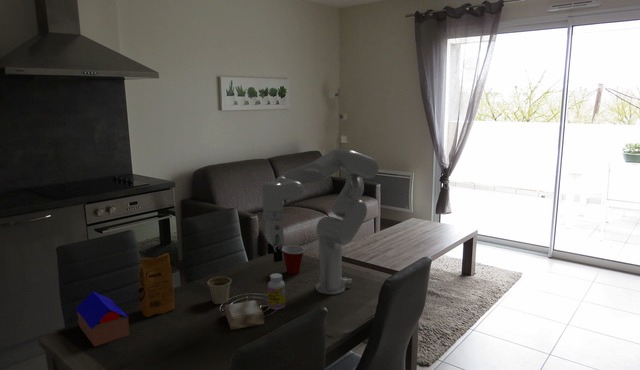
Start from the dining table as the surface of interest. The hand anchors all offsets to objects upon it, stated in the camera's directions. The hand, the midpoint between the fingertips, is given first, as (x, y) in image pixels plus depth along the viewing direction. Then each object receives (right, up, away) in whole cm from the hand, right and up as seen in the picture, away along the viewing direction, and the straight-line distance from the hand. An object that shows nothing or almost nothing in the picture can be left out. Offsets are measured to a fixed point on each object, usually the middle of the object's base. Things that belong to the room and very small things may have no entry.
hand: (274, 257), depth 173 cm
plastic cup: (+5, -14, +39) cm, 41 cm away
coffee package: (-46, -21, +1) cm, 50 cm away
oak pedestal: (-11, -22, -7) cm, 25 cm away
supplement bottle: (0, -20, +3) cm, 20 cm away
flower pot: (-23, -19, +9) cm, 31 cm away
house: (-59, -24, -14) cm, 65 cm away
